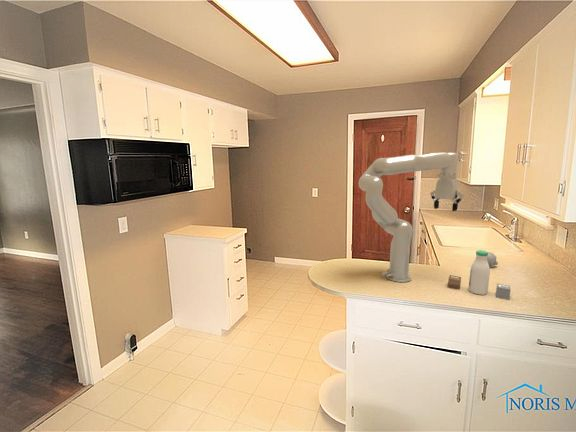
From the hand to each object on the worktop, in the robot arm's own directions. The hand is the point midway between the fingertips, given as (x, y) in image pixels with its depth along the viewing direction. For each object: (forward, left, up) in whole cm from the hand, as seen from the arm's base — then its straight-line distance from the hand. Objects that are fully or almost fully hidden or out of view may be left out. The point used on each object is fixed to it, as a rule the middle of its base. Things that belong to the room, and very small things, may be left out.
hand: (445, 209), depth 157 cm
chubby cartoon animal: (+34, 0, -36) cm, 50 cm away
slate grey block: (+6, -31, -36) cm, 48 cm away
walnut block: (-6, -15, -36) cm, 40 cm away
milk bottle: (0, -23, -36) cm, 43 cm away
